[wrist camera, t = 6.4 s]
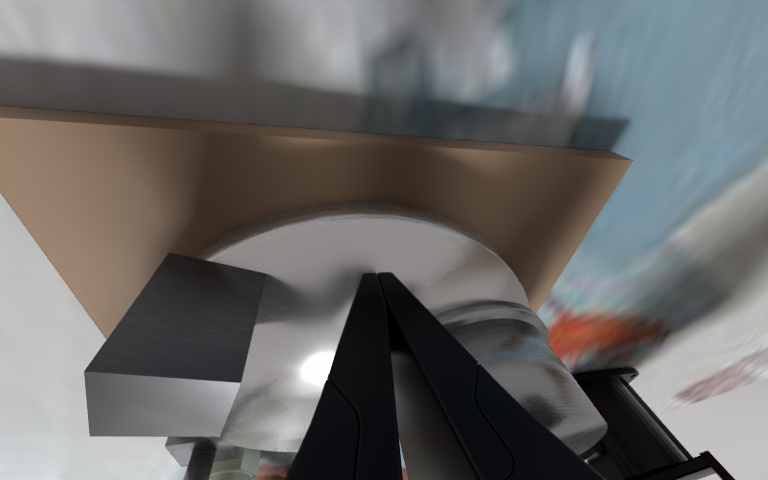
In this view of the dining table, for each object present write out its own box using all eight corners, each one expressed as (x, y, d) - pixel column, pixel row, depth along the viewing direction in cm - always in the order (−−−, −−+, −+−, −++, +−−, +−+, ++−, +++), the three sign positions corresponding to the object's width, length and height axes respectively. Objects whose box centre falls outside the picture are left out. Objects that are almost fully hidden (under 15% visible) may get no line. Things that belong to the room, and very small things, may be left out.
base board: (610, 151, 11) (637, 162, 10) (468, 396, 22) (475, 412, 21) (-14, 104, 7) (-67, 116, 6) (193, 432, 18) (185, 454, 17)
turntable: (180, 111, 7) (4, 206, 3) (581, 268, 13) (685, 362, 9) (145, 421, 14) (81, 559, 10) (411, 426, 20) (431, 515, 16)
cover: (447, 283, 10) (509, 409, 6) (572, 317, 12) (661, 418, 9) (363, 389, 13) (377, 508, 10) (477, 398, 16) (518, 494, 12)
